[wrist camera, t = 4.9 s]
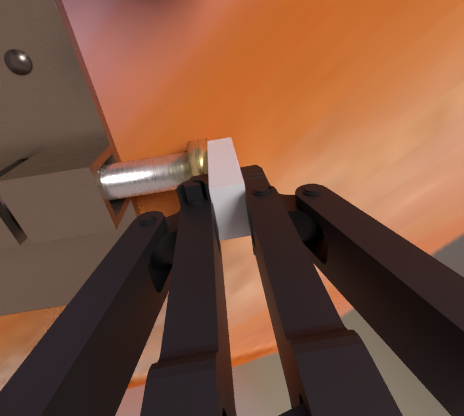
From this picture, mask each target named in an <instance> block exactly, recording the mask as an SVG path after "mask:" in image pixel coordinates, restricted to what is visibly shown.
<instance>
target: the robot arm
mask: <svg viewBox="0 0 464 416" xmlns="http://www.w3.org/2000/svg"><path fill="white" fill-rule="evenodd" d="M207 142H208V148H207V149H208V174H203V175H197V176H192V177H191V178H190V179H189V180H187V181H185V182H182V183H181V184H179V185H178V186H177V188H176V190H177V194H178V197H179V201H180V204H181V208H180V211H179V212H178V213H176V214H174V215H171V216H168V217H164V215H163V213H161V212H159V211H151V212H146V213H143V214H141V215H140V216H138V217H136V218H135V219H134V220H133V221H132V223H131V224H130V225H129V227H128V228H127V229H126V230H125V232H124V233H123V234H122V236H121V237H120V238H119V239H118V241H117V242H116V243H115V245H114V246H113V247H112V248H111V250H110V251H109V252H108V254H107V255H106V256H105V257H104V259H103V260H102V261H101V263H100V264H99V265H98V266H97V268H96V269H95V270H94V272H93V273H92V274H91V275H90V277H89V278H88V279H87V281H86V282H85V283H84V284H83V286H82V287H81V288H80V290H79V291H78V292H77V293H76V295H75V296H74V297H73V299H72V300H71V301H70V302H69V304H68V305H67V306H66V308H65V309H64V310H63V311H62V313H61V314H60V315H59V317H58V318H57V319H56V320H55V322H54V323H53V324H52V326H51V327H50V328H49V329H48V331H47V332H46V333H45V335H44V336H43V337H42V338H41V340H40V341H39V342H38V344H37V345H36V346H35V347H34V349H33V350H32V351H31V353H30V354H29V355H28V357H27V358H26V359H25V360H24V362H23V363H22V364H21V366H20V367H19V368H18V369H17V371H16V372H15V373H14V375H13V376H12V377H11V378H10V380H9V381H8V382H7V384H6V385H5V386H4V387H3V389H2V390H1V391H0V416H115V415H116V412H117V410H118V408H119V405H120V403H121V401H122V398H123V396H124V394H125V391H126V389H127V387H128V384H129V382H130V380H131V377H132V375H133V373H134V370H135V368H136V366H137V363H138V361H139V359H140V356H141V354H142V352H143V349H144V347H145V345H146V342H147V340H148V338H149V336H150V333H151V331H152V329H153V326H154V324H155V322H156V319H157V317H158V315H159V312H160V310H161V308H162V305H163V303H164V301H165V298H166V296H167V294H168V291H169V295H168V302H167V309H166V316H165V324H164V331H163V338H162V345H161V353H160V358H159V360H158V362H157V363H154V364H152V365H151V367H150V369H149V371H148V375H147V379H146V385H145V391H144V397H143V403H142V409H141V415H140V416H237V415H236V409H235V400H234V389H233V377H232V366H231V355H230V344H229V332H228V321H227V310H226V299H225V287H224V276H223V265H222V254H221V245H220V240H226V239H232V238H238V237H244V236H250V235H251V237H252V245H253V252H254V255H255V256H256V260H257V264H258V268H259V272H260V276H261V280H262V285H263V289H264V293H265V297H266V301H267V305H268V309H269V313H270V318H271V322H272V326H273V330H274V334H275V338H276V342H277V347H278V351H279V355H280V359H281V363H282V367H283V371H284V375H285V380H286V384H287V388H288V392H289V396H290V401H291V407H292V409H290V410H288V411H287V412H285V413H283V414H281V415H279V416H402V413H401V412H400V410H399V408H398V406H397V404H396V402H395V400H394V399H393V397H392V395H391V393H390V391H389V389H388V387H387V385H386V384H385V382H384V380H383V378H382V376H381V374H380V372H379V370H378V369H377V367H376V365H375V363H374V361H373V359H372V357H371V356H370V354H369V352H368V350H367V348H366V346H365V344H364V343H363V341H362V339H361V338H360V336H359V335H358V334H357V333H356V332H355V331H354V330H348V329H347V328H346V327H345V326H344V324H343V323H342V321H341V319H340V317H339V315H338V313H337V311H336V309H335V307H334V305H333V303H332V301H331V298H330V296H329V294H328V292H327V290H326V288H325V286H324V284H323V282H322V280H321V278H320V276H319V274H318V272H317V270H316V268H315V266H314V264H315V265H316V266H317V268H318V269H319V270H320V271H321V272H322V273H323V274H324V275H325V276H326V277H327V279H328V280H329V281H330V282H331V283H332V284H333V285H334V286H335V287H336V289H337V290H338V291H339V292H340V293H341V294H342V295H343V296H344V297H345V299H346V300H347V301H348V302H349V303H350V304H351V305H352V306H353V307H354V308H355V310H356V311H358V313H359V314H360V315H361V316H362V317H363V318H364V320H366V322H367V323H368V324H369V325H370V326H371V327H372V328H373V329H374V331H375V332H376V333H377V334H378V335H379V336H380V337H381V338H382V339H383V340H384V342H385V343H386V344H387V345H388V346H389V347H390V348H391V349H392V351H394V353H395V354H396V355H397V356H398V357H399V358H400V359H401V360H402V362H403V363H404V364H405V365H406V366H407V367H408V368H409V369H410V370H411V372H412V373H413V374H414V375H415V376H416V377H417V378H418V379H419V380H420V381H421V383H422V384H423V385H424V386H425V387H426V388H427V389H428V390H429V391H430V393H432V395H433V396H434V397H435V398H436V399H437V400H438V401H439V402H440V404H442V406H443V407H444V408H445V409H446V410H447V411H448V412H449V414H450V415H451V416H464V277H462V276H461V275H459V274H458V273H456V272H455V271H453V270H452V269H450V268H449V267H447V266H445V265H444V264H442V263H441V262H439V261H438V260H436V259H435V258H433V257H432V256H430V255H429V254H427V253H426V252H424V251H423V250H421V249H420V248H418V247H416V246H415V245H413V244H412V243H410V242H409V241H407V240H406V239H404V238H403V237H401V236H400V235H398V234H397V233H395V232H394V231H392V230H391V229H389V228H387V227H386V226H384V225H383V224H381V223H380V222H378V221H377V220H375V219H374V218H372V217H371V216H369V215H368V214H366V213H365V212H363V211H361V210H360V209H358V208H357V207H355V206H354V205H352V204H351V203H349V202H348V201H346V200H345V199H343V198H342V197H340V196H339V195H337V194H335V193H334V192H332V191H331V190H329V189H328V188H326V187H324V186H322V185H318V184H307V185H302V186H300V187H298V188H297V189H296V191H295V195H283V194H279V193H278V192H277V190H276V188H275V187H273V186H271V185H270V184H269V182H268V180H267V178H266V176H265V174H264V172H263V169H262V168H261V167H259V166H257V165H252V166H246V167H239V163H238V160H237V156H236V153H235V150H234V146H233V143H232V139H231V137H229V138H223V139H217V140H211V141H207ZM219 239H220V240H219ZM313 263H314V264H313Z"/></svg>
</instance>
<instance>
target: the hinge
mask: <svg viewBox="0 0 464 416" xmlns="http://www.w3.org/2000/svg"><path fill="white" fill-rule="evenodd" d="M28 158H29V159H28ZM120 162H121V160H120V158H119V155H118V152H117V150H116V147H115V144H114V141H113V139H112V136H111V133H110V131H109V128H108V125H107V122H106V120H105V117H104V114H103V112H102V109H101V106H100V103H99V101H98V98H97V95H96V93H95V90H94V87H93V84H92V82H91V79H90V76H89V74H88V71H87V68H86V66H85V63H84V60H83V57H82V55H81V52H80V49H79V47H78V44H77V41H76V38H75V36H74V33H73V30H72V28H71V25H70V22H69V19H68V17H67V14H66V11H65V9H64V6H63V3H62V1H61V0H0V196H1V198H2V199H3V201H4V202H5V204H6V205H7V207H8V208H9V210H10V211H11V213H12V214H13V216H10V215H9V214H8V212H7V211H6V209H5V208H4V206H3V205H2V203H1V202H0V316H1V315H8V314H14V313H20V312H26V311H32V310H38V309H44V308H50V307H57V306H63V305H68V304H69V302H70V301H71V300H72V299H73V297H74V296H75V295H76V293H77V292H78V291H79V290H80V288H81V287H82V286H83V284H84V283H85V282H86V281H87V279H88V278H89V277H90V275H91V274H92V273H93V272H94V270H95V269H96V268H97V266H98V265H99V264H100V263H101V261H102V260H103V259H104V257H105V256H106V255H107V254H108V252H109V251H110V250H111V248H112V247H113V246H114V245H115V243H116V242H117V241H118V239H119V238H120V237H121V236H122V234H123V233H124V232H125V230H126V229H127V228H128V227H129V225H130V224H131V223H132V221H133V220H134V219H135V218H136V217H138V216H140V212H139V209H138V206H137V204H136V201H135V198H134V196H133V197H127V198H120V199H114V200H109V199H108V197H107V194H106V192H105V190H104V187H103V185H102V183H101V180H100V178H99V176H98V173H97V171H98V169H99V168H100V167H101V166H102V165H108V164H114V163H120Z"/></svg>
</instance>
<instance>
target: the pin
mask: <svg viewBox="0 0 464 416" xmlns="http://www.w3.org/2000/svg"><path fill="white" fill-rule="evenodd" d="M207 141H208V140H207V139H201V140H194V141H188V142H187V152H183V153H177V154H170V155H164V156H158V157H152V158H145V159H139V160H133V161H127V162H120V163H114V164H108V165H102V166H101V167H100V168H99V169H98V171H97V173H98V176H99V178H100V180H101V183H102V185H103V187H104V190H105V192H106V194H107V197H108V199H109V200H114V199H120V198H127V197H133V196H139V195H145V194H152V193H158V192H164V191H170V190H176V188H177V186H178V185H179V184H181V183H182V182H185V181H187V180H189V179H190V178H191V177H192V176H197V175H203V174H208V149H207V148H208V142H207ZM0 202H1V203H2V205H3V206H4V208H5V209H6V211H7V212H8V214H9V215H10V216H13V214H12V213H11V211H10V210H9V208H8V207H7V205H6V204H5V202H4V201H3V199H2V198H1V196H0Z"/></svg>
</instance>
